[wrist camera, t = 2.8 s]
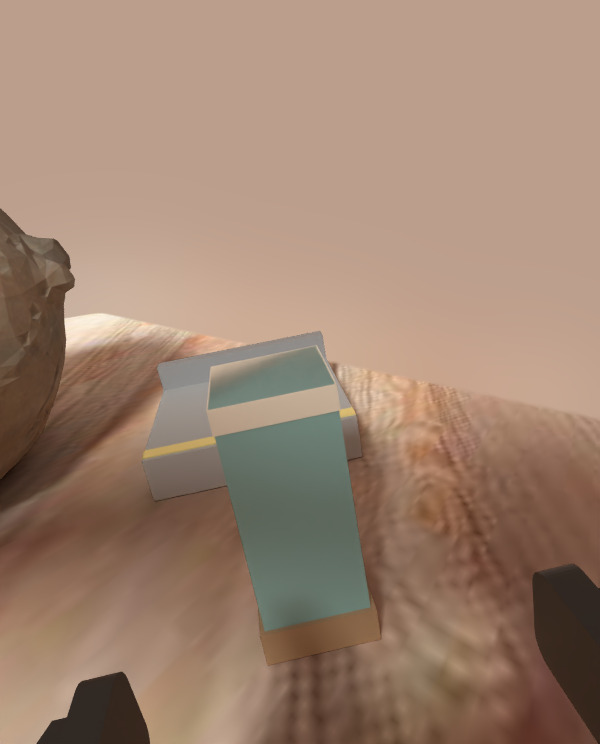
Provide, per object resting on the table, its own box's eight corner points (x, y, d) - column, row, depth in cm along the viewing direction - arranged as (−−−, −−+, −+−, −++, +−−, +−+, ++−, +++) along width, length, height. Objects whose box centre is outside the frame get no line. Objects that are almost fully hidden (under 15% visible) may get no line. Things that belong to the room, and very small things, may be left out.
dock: (154, 501, 35) (132, 432, 33) (173, 416, 48) (158, 363, 46) (362, 456, 36) (352, 387, 34) (329, 384, 48) (320, 330, 46)
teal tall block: (267, 665, 22) (201, 413, 18) (261, 583, 27) (207, 366, 22) (381, 638, 22) (341, 385, 18) (355, 561, 27) (319, 343, 23)
